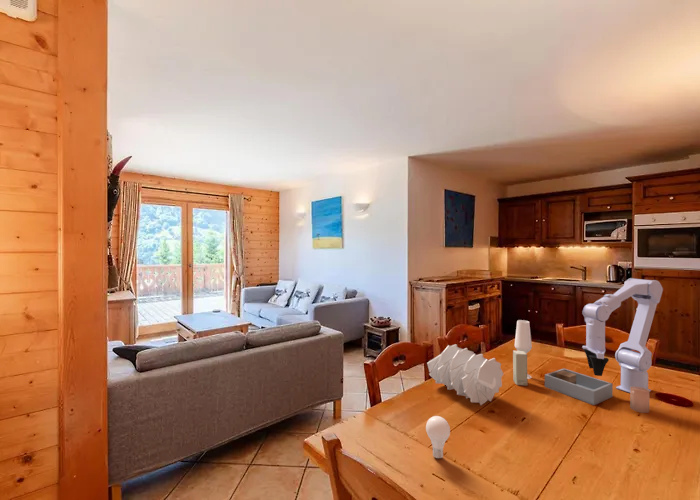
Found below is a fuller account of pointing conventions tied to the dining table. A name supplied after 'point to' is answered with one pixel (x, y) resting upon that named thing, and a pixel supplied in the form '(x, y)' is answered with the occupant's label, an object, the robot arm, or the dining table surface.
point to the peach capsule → (639, 399)
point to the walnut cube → (566, 376)
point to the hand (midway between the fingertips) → (595, 371)
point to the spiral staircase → (467, 373)
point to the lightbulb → (437, 434)
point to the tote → (580, 387)
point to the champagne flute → (523, 338)
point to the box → (520, 367)
